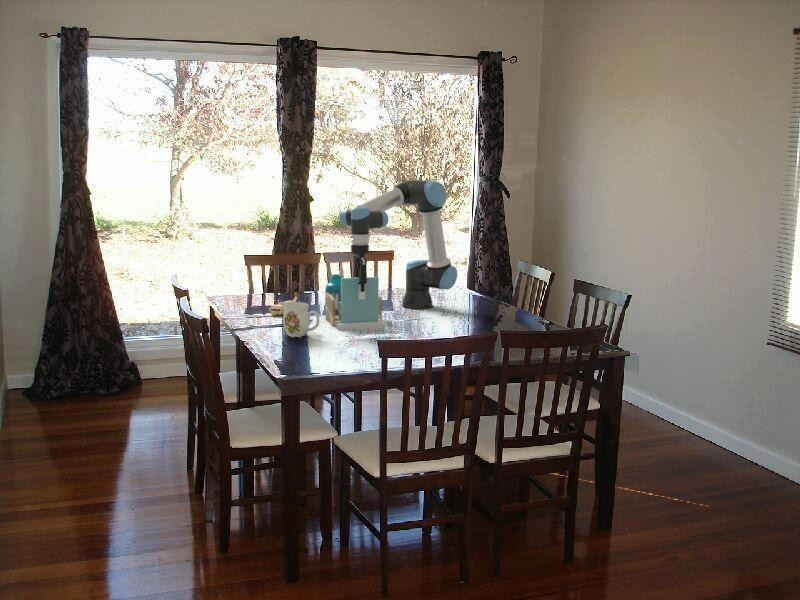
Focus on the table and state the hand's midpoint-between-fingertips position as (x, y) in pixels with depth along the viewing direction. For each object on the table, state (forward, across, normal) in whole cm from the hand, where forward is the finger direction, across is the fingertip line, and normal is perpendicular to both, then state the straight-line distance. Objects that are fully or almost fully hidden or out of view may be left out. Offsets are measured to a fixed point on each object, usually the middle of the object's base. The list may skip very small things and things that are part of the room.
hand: (359, 297), depth 341 cm
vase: (+15, -33, -3) cm, 36 cm away
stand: (+15, 0, 0) cm, 15 cm away
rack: (+15, -12, 0) cm, 19 cm away
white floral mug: (+15, +4, -27) cm, 31 cm away
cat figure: (+15, -47, -25) cm, 55 cm away
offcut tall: (+13, -11, 0) cm, 17 cm away
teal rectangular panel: (+14, 0, 0) cm, 14 cm away
